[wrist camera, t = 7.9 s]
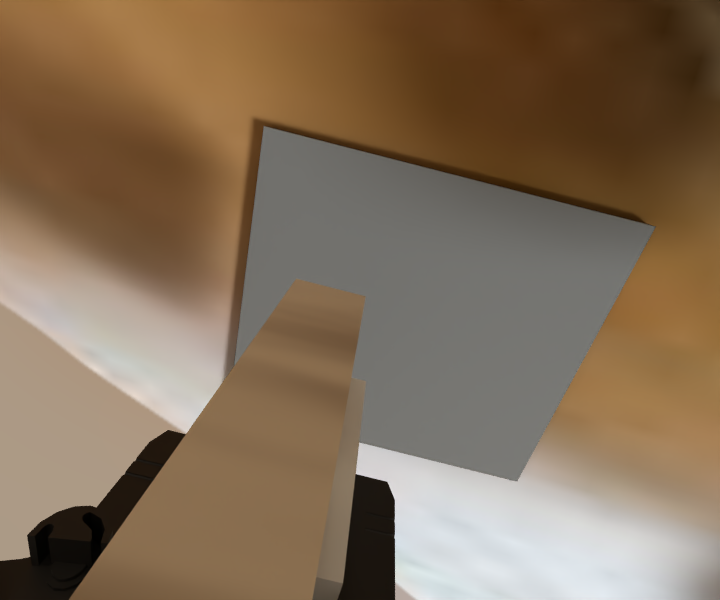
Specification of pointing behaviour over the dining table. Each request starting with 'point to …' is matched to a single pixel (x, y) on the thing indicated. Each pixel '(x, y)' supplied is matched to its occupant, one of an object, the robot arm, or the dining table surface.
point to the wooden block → (247, 470)
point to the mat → (439, 292)
